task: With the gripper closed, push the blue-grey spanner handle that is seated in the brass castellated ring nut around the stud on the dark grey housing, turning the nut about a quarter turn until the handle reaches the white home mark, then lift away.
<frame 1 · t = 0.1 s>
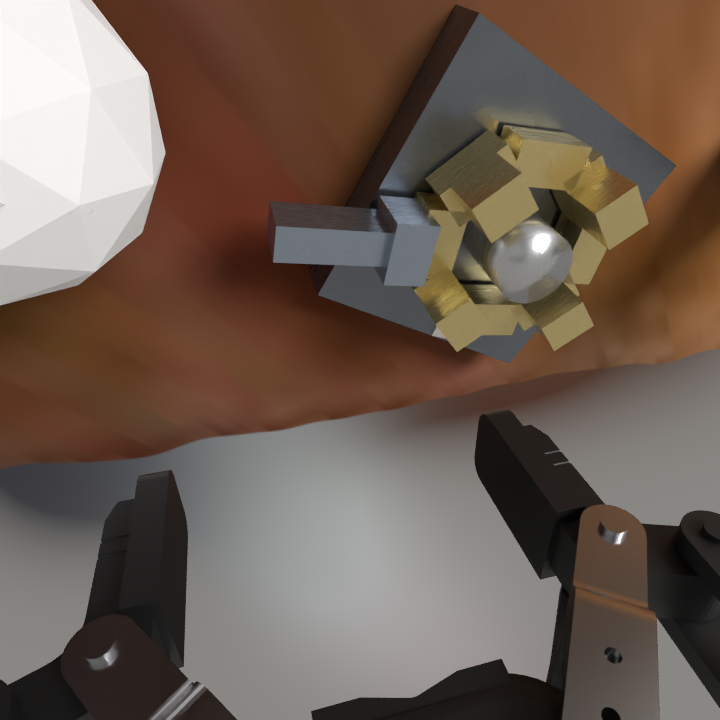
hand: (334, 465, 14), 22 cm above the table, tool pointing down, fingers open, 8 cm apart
housing: (478, 210, 36), on the table
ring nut: (455, 248, 30), point 6 cm above the table, hinge at 0.0°
geodesic sphere: (20, 88, 26), on the table
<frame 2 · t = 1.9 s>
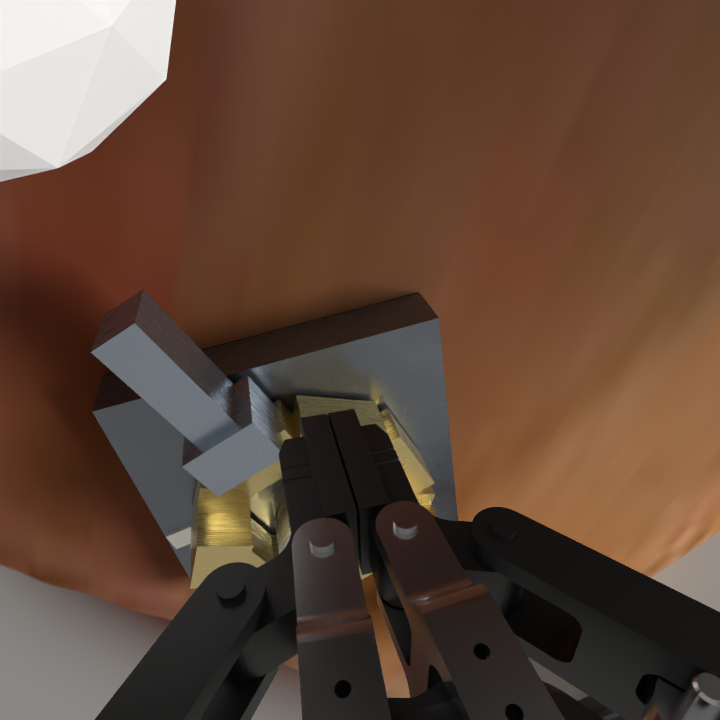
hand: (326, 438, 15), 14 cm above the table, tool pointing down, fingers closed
housing: (302, 449, 33), on the table
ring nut: (273, 480, 26), point 6 cm above the table, hinge at 0.0°
coffee cup: (501, 551, 44), on the table
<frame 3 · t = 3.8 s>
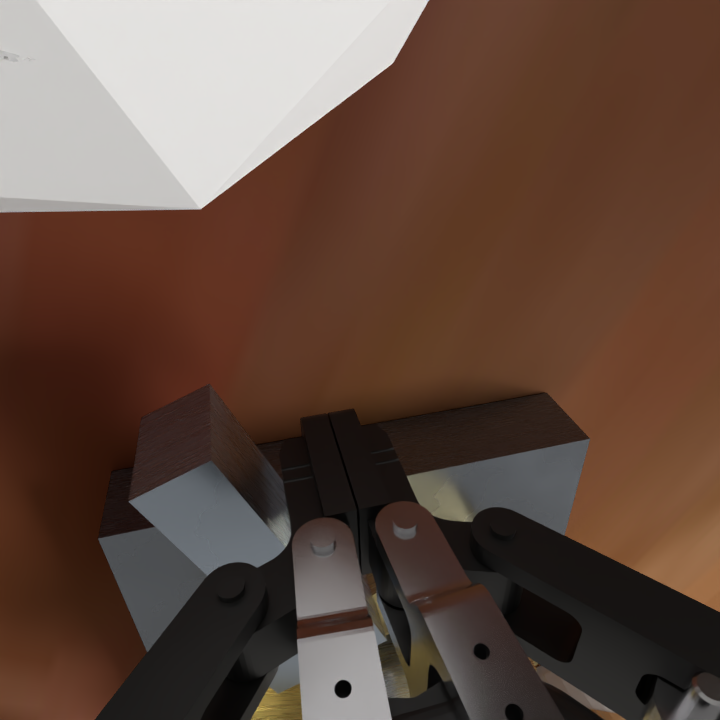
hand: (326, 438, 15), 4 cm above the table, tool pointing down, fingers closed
housing: (353, 569, 25), on the table
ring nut: (348, 654, 18), point 6 cm above the table, hinge at 1.1°, touching gripper
coffee cup: (544, 681, 37), on the table
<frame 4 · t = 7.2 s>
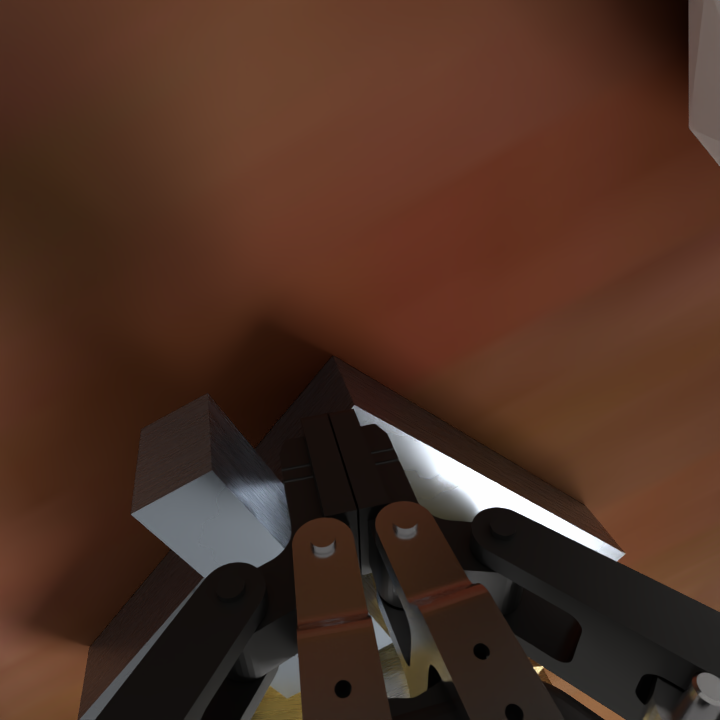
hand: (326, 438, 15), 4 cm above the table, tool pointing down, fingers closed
housing: (359, 570, 25), on the table
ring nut: (355, 657, 18), point 6 cm above the table, hinge at 44.9°, touching gripper
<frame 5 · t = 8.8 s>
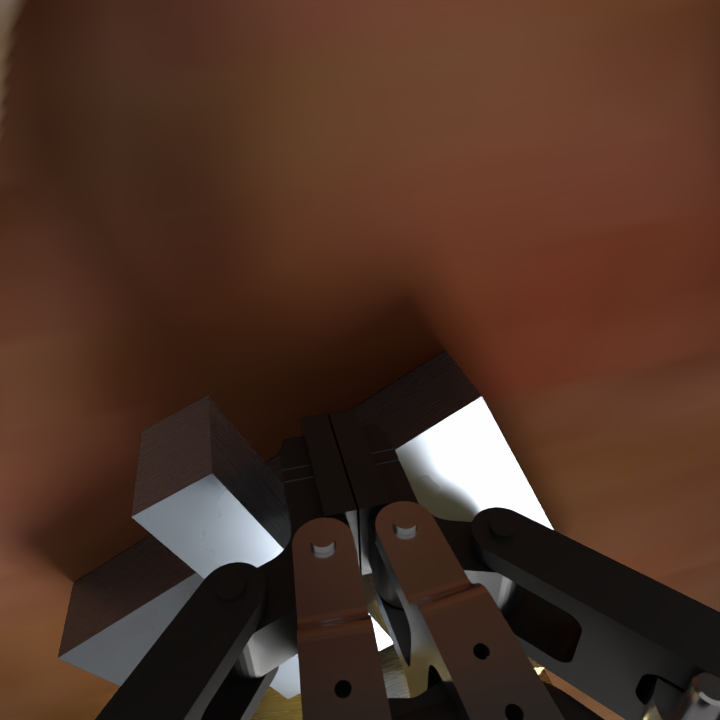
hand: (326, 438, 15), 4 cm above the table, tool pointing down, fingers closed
housing: (359, 570, 25), on the table
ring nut: (356, 657, 18), point 6 cm above the table, hinge at 65.2°, touching gripper
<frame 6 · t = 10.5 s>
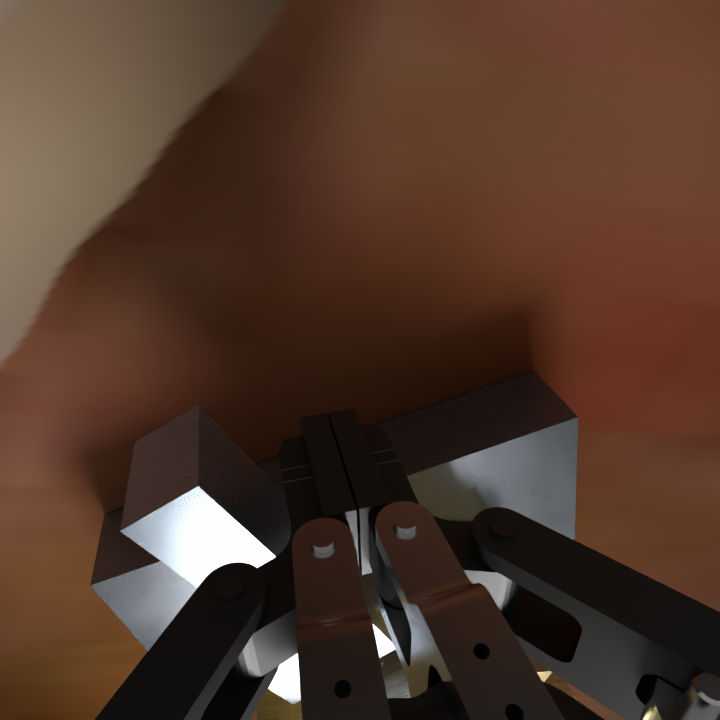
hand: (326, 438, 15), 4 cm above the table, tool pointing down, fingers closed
housing: (371, 569, 25), on the table
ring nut: (363, 660, 18), point 6 cm above the table, hinge at 84.9°
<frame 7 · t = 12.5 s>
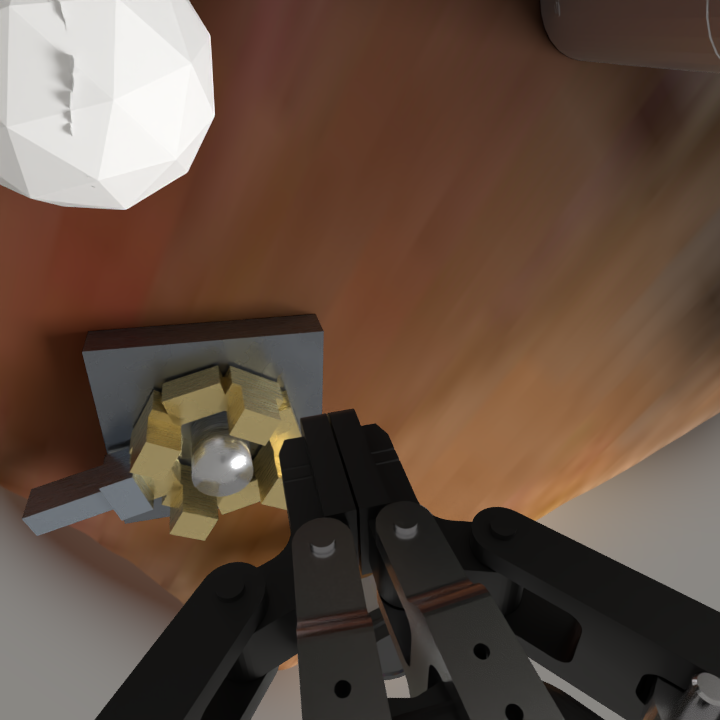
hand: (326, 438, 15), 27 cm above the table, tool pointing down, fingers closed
housing: (217, 410, 46), on the table
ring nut: (168, 473, 41), point 6 cm above the table, hinge at 85.0°
coffee cup: (353, 520, 58), on the table
geodesic sphere: (91, 61, 31), on the table
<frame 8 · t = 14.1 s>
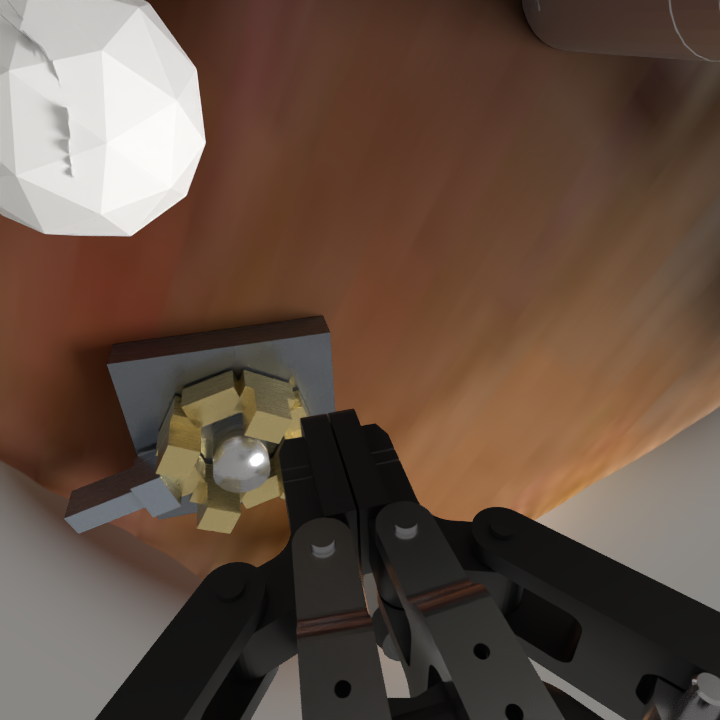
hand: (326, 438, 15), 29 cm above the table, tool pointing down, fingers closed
housing: (237, 411, 49), on the table
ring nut: (193, 472, 44), point 6 cm above the table, hinge at 85.0°
coffee cup: (376, 510, 60), on the table
geodesic sphere: (95, 97, 34), on the table
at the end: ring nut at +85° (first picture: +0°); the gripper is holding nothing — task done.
